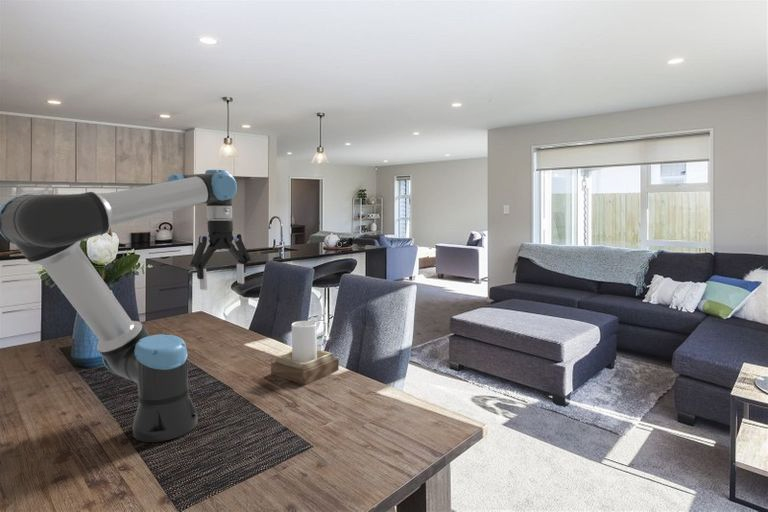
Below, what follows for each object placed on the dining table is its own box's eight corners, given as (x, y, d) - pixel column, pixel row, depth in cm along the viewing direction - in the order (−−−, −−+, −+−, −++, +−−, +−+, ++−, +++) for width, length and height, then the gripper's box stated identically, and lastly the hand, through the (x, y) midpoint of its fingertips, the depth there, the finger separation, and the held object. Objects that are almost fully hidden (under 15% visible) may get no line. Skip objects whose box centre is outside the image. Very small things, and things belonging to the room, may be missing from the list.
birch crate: (305, 382, 143) (304, 364, 142) (276, 373, 151) (276, 356, 150) (333, 370, 154) (332, 353, 153) (305, 362, 162) (305, 346, 161)
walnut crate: (305, 387, 141) (304, 372, 141) (271, 376, 151) (270, 362, 150) (338, 372, 154) (338, 358, 154) (305, 363, 163) (305, 350, 163)
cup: (314, 374, 148) (313, 327, 146) (290, 374, 148) (288, 327, 146) (319, 365, 156) (318, 320, 154) (295, 365, 156) (294, 320, 154)
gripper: (189, 221, 129) (193, 293, 131) (259, 219, 149) (261, 281, 151) (175, 220, 133) (179, 290, 136) (245, 218, 153) (247, 279, 156)
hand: (222, 286), depth 143 cm, fingers open, 13 cm apart
